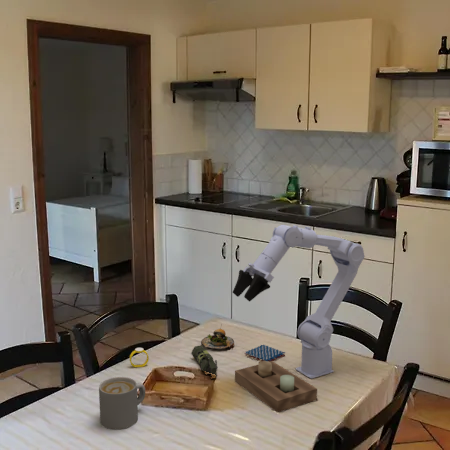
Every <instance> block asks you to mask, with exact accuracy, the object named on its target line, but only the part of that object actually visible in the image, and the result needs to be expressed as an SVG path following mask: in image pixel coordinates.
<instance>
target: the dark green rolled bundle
mask: <svg viewBox="0 0 450 450" xmlns="http://www.w3.org/2000/svg"><path fill="white" fill-rule="evenodd" d="M190 354H191V355H192V357H193V358H194V360H195V361H197V362H198V363H199V366H200V369H201V370H202V371H206V372H209V373H212V374H215V375H216V376H217V371H218V362H217V359H215V361H214V358H213V355H211V353H209V352H208V350H207V349H206V348H204V345H196V346H194V347H193V348H192V351H191V352H190Z"/></svg>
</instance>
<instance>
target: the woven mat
mask: <svg viewBox="0 0 450 450" xmlns="http://www.w3.org/2000/svg"><path fill="white" fill-rule="evenodd" d="M285 353H286V352H285V351H283V350H279V349H277V348H274V347H271V346H269V345H266V344H260V346H257V347H254V348H251V350H250V349H249V350H248V351H245V352H244V357H247V358H249V359H251V360H254V361H257V362H258V363H259V362H261V361H268V362H270V361H273V362H275V361H276V360H279V359H281V358H283V357H285V356H286V354H285Z"/></svg>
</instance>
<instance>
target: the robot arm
mask: <svg viewBox="0 0 450 450" xmlns="http://www.w3.org/2000/svg"><path fill="white" fill-rule="evenodd" d="M315 246H320V247H321V246H322V247H326V248H327V250H329V253H330V256H331V258H332V260H333V262H334V264H335V265H336V267H337V270H338V271H337V273H336V275H335V276H334V278H333V280H332V282H331V284H330V285H329V288H328V289H327V291H326V292H325V294H324V296H323V298H322V300H321V302H320V304H319V305H318V308H316V311H315V312H314V313H312V314H309V315H306V318H305V319H304V321H302V322H301V323H300V324H299V326H298V328H297V337H298V338H299V339H300V343H301V361H300V362H301V365H300V366H297V367H295V370H296V371H297V372H299V373H301V374H303V376H306V377H308V378H309V379H314V378H317V377H321V376H325V375H328V374H331V373H334V369H333V349H332V347H331V345H330V341H331V337H332V334H333V332H334V327H333V325H332V323H331V321H332V319H333V318H334V316H335V314H336V312H337V310H338V309H339V307H340V305H341V303H342V302H343V300H344V298H345V296H346V295H347V293H348V291H349V289H350V288H351V286H352V283H354V280H355V278H356V276H357V274H358V271H359V268H360V266H361V265H362V262H363V261H364V259H365V257H366V256H365V252H364V251H365V250H364V248H363V247H364V246H362V245H361V244H360V243H354V242H353V241H351V240H348V239H345V238H342V237H339V236H338V237H337V236H334V235H325V234H317V232H316V231H315V230H314V229H312V227H310V226H304V228H303V227H299V226H298V225H295V224H293V225H292V226H290V225H286V224H280V225H278V226H277V227H274V229H273V230H272V235H271V238H270V239H269V242H268V243H267V244H266V246H265V247H264V249H263V250H262V252H261V253H260V254H259V255H258V257H257V258H256V259H255V261H254V262H253V263H251V262H249V263H248V265H247V266H245V267H244V269H243V270H242V269H239V272H238V278H237V280H236V283H235V286H234V287H233V290H232V293H233V294H234V295H235V296H236V297H240V296H241V295H242V294H243V293H244V292H245V291H246V292H245V294H244V295H243V298H245V300H247V301H248V302H251V301H252V300H254V299H255V298H256V297H258V295H259V294H262V292H264V291H267V290H268V289H270V288H271V285H270V284H269V283H271V282H272V281H273V279H274V278H275V277H274V276H273V274H272V273H273V271H274V270H275V268H276V267H277V266H278V264H279V263H280V262H281V260H282V258H284V256H285V255H286V254H287V252H288V251H289V249H290V248H294V247H295V248H296V247H298V248H304V249H305V248H306V249H312V248H313V247H315ZM246 289H247V290H246Z"/></svg>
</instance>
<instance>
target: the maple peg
mask: <svg viewBox="0 0 450 450" xmlns="http://www.w3.org/2000/svg"><path fill="white" fill-rule="evenodd" d="M257 365H258V375H259V376H260V377H265V378H266V377H269V376H271V373H272V363H271V362H268V361H261V362H259V361H258V364H257Z"/></svg>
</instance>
